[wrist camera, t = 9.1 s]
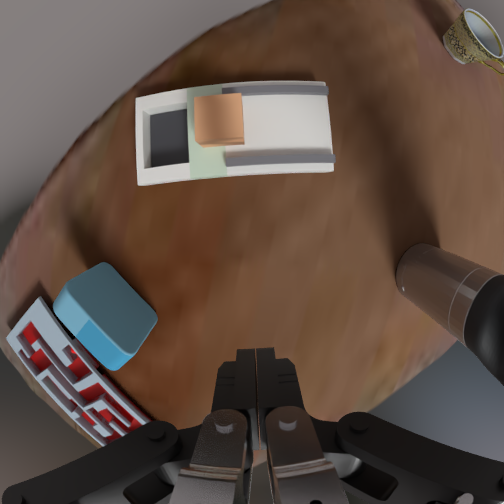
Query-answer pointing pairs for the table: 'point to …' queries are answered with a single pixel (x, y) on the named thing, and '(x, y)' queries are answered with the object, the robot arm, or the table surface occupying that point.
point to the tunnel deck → (255, 133)
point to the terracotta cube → (219, 120)
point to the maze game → (73, 376)
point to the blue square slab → (105, 314)
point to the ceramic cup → (473, 40)
